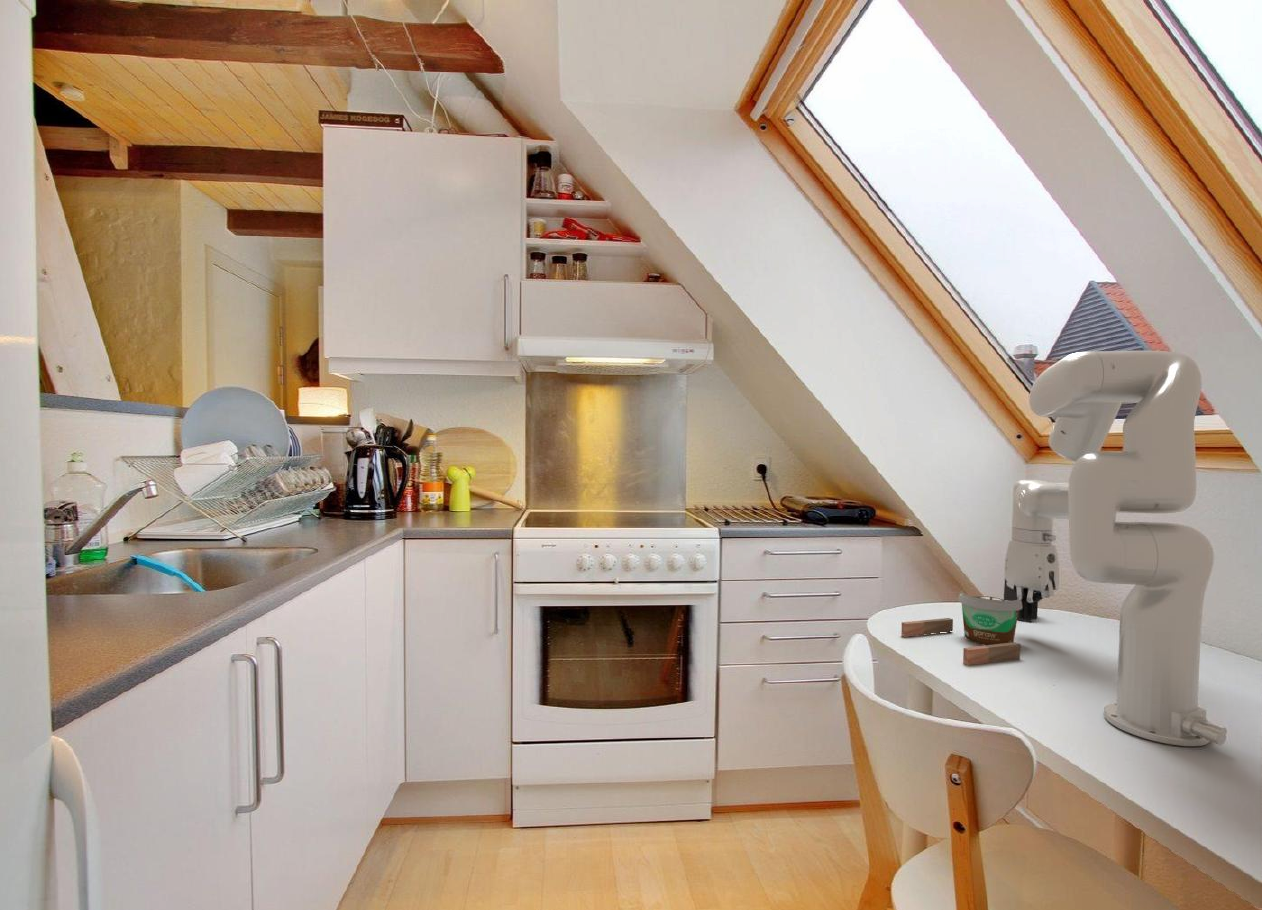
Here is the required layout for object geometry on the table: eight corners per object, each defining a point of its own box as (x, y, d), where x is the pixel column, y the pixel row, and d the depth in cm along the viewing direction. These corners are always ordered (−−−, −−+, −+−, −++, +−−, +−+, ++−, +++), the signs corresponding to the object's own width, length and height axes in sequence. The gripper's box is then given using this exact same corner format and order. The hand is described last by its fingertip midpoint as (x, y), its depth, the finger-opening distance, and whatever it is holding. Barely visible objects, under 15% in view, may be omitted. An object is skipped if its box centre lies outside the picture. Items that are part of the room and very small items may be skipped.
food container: (956, 642, 136) (958, 596, 135) (957, 634, 141) (958, 590, 141) (1023, 652, 130) (1025, 604, 129) (1021, 643, 135) (1022, 597, 135)
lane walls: (1019, 658, 126) (1020, 643, 126) (968, 665, 122) (968, 649, 122) (948, 630, 144) (948, 617, 143) (901, 635, 140) (901, 622, 140)
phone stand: (1005, 610, 161) (1007, 563, 161) (1033, 614, 158) (1035, 566, 157) (1002, 618, 154) (1003, 569, 153) (1031, 622, 150) (1032, 573, 150)
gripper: (1077, 541, 132) (1073, 627, 133) (1014, 529, 146) (1011, 607, 147) (1050, 543, 130) (1046, 630, 131) (989, 531, 144) (986, 610, 145)
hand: (1028, 618), depth 139 cm, fingers closed
